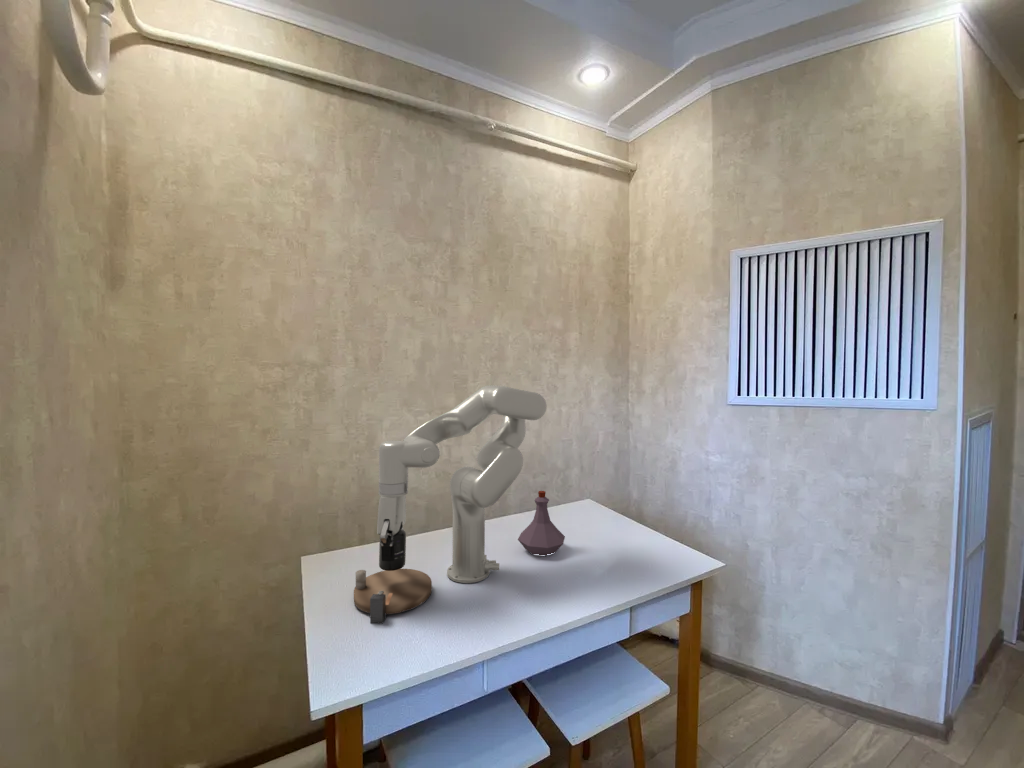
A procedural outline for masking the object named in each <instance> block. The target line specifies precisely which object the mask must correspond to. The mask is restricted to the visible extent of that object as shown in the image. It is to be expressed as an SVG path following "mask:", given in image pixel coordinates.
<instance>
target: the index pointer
mask: <svg viewBox="0 0 1024 768" xmlns="http://www.w3.org/2000/svg"><path fill="white" fill-rule="evenodd" d="M386 615H387V614H386V594H384V591H379V593H378V594H373V595H372V597H371V598H370V613H369V619H370V624H381V625H382V624H384V623H385V620H386V618H387V616H386Z"/></svg>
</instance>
